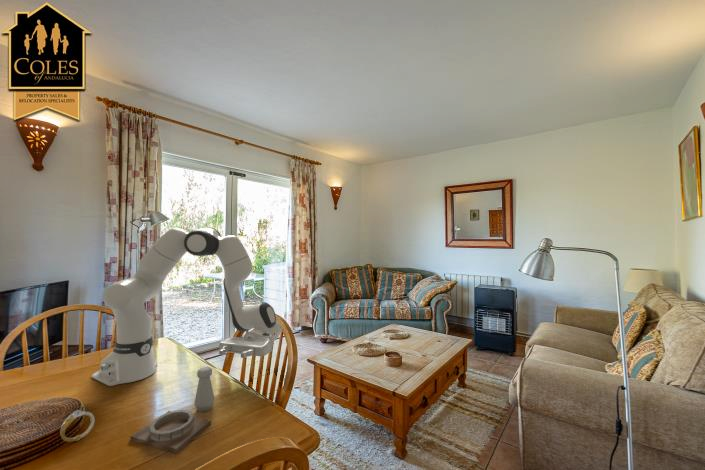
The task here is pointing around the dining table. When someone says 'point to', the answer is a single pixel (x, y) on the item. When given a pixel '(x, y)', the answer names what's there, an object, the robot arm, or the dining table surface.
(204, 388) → the salt shaker
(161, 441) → the ring stand
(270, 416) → the dining table surface
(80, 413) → the bracelet
